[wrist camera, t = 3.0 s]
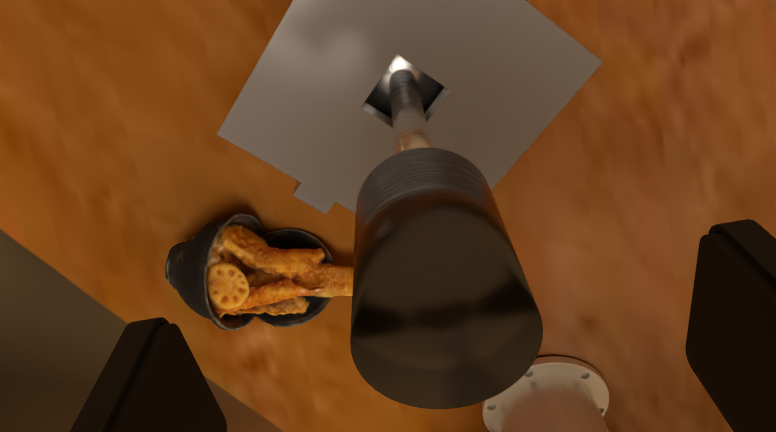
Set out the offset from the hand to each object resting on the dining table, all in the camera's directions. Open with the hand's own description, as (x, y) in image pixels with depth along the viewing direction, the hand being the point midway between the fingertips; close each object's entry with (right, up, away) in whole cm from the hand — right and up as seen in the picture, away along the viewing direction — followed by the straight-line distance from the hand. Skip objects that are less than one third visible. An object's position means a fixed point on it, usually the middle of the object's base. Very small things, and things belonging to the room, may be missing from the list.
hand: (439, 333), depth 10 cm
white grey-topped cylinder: (-1, +15, +28) cm, 31 cm away
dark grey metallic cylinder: (0, +8, +15) cm, 17 cm away
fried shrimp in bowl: (-9, -1, +37) cm, 38 cm away
